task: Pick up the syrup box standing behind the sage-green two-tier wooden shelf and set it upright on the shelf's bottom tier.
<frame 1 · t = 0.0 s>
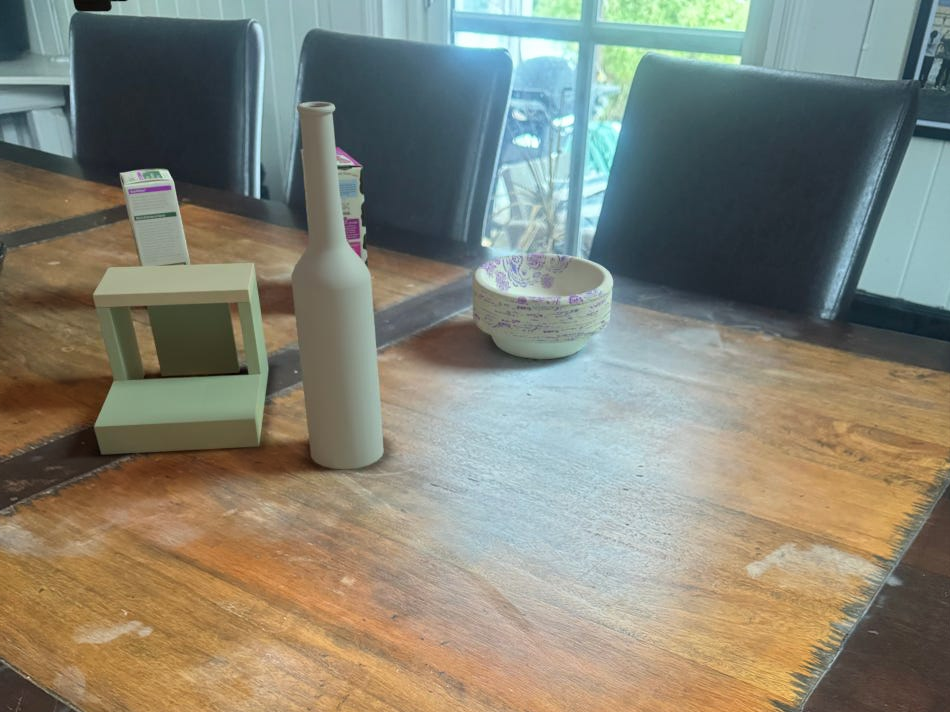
hand: (104, 5, 90), 31 cm above the table, tool pointing down, fingers open, 9 cm apart
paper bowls: (539, 346, 107), on the table
bottle: (347, 456, 86), on the table
syrup box: (172, 303, 117), on the table
shelf: (192, 410, 93), on the table
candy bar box: (342, 302, 118), on the table
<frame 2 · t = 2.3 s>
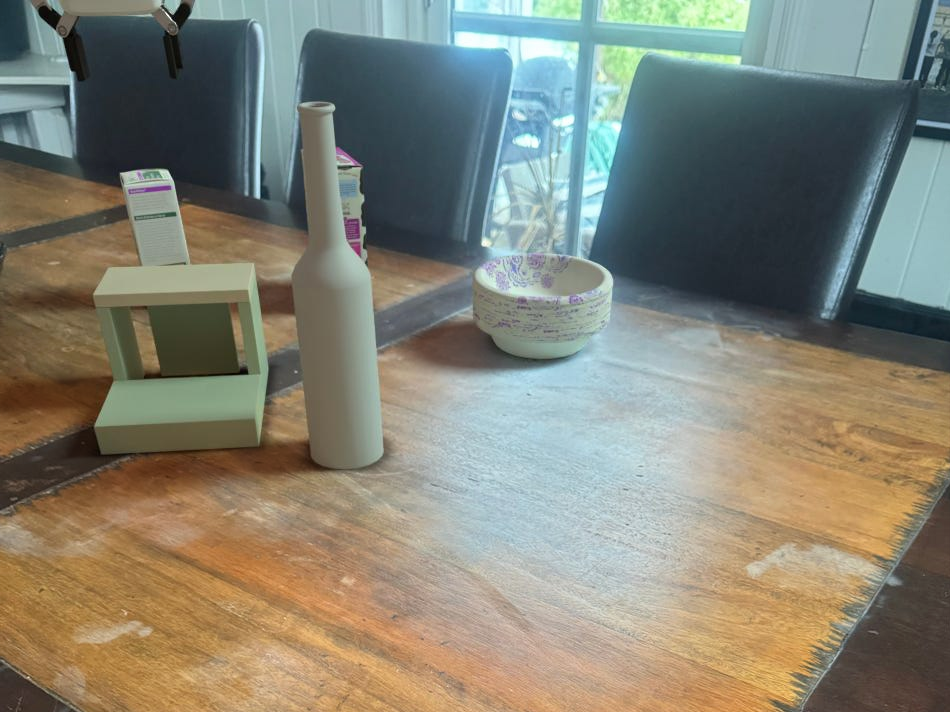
hand: (130, 78, 102), 24 cm above the table, tool pointing down, fingers open, 9 cm apart
nothing on the table moved.
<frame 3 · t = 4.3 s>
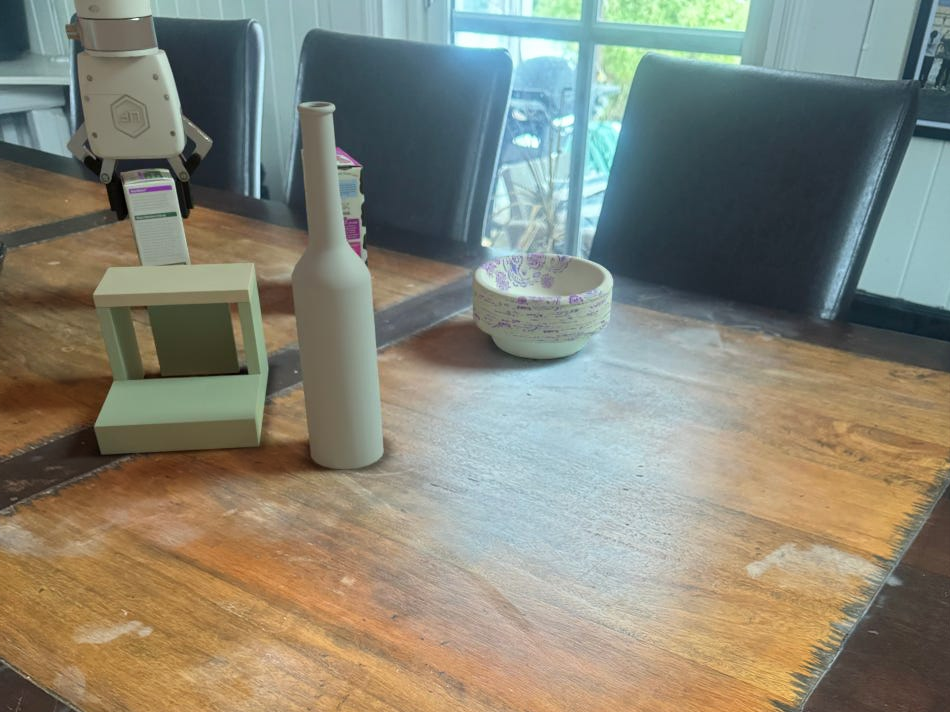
hand: (154, 215, 111), 10 cm above the table, tool pointing down, fingers closed on syrup box, 6 cm apart
syrup box: (171, 303, 117), on the table, touching gripper
everything else where it was.
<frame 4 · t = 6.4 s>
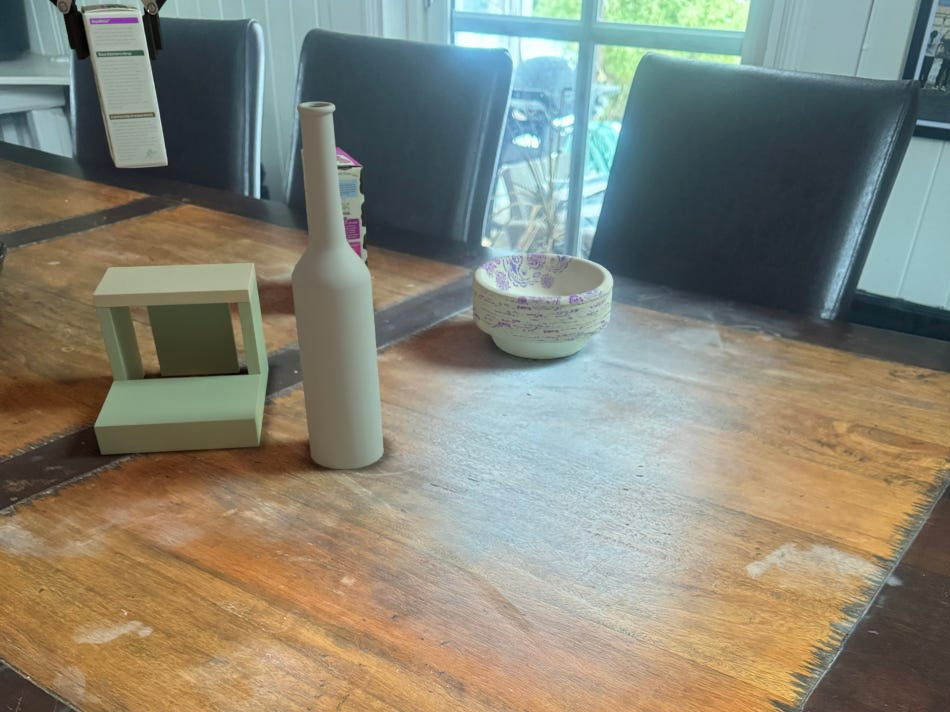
hand: (119, 56, 99), 26 cm above the table, tool pointing down, fingers closed on syrup box, 6 cm apart
syrup box: (139, 164, 105), point 16 cm above the table, touching gripper
everything else where it was.
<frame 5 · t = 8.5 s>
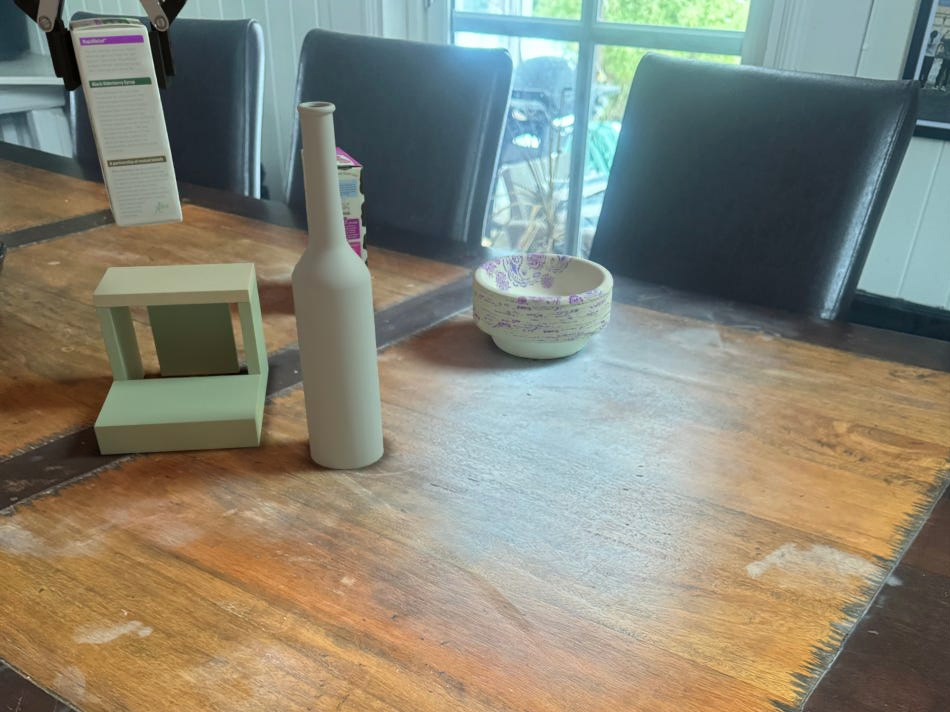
hand: (119, 85, 76), 28 cm above the table, tool pointing down, fingers closed on syrup box, 6 cm apart
syrup box: (146, 219, 83), point 17 cm above the table, touching gripper
everything else where it was.
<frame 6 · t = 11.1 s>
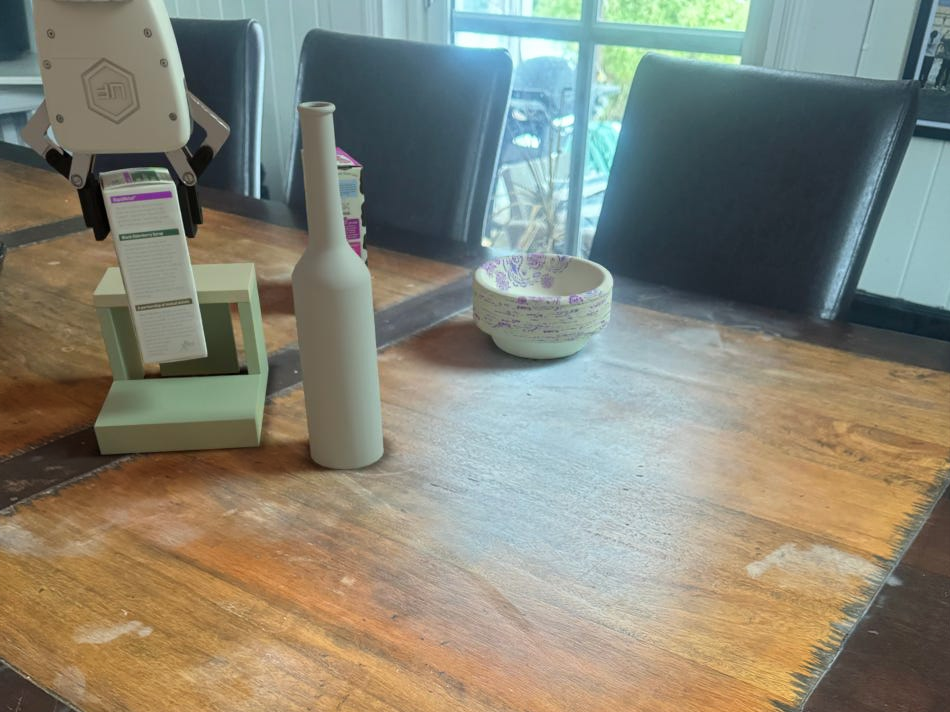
hand: (147, 233, 78), 18 cm above the table, tool pointing down, fingers closed on syrup box, 6 cm apart
syrup box: (171, 352, 85), point 7 cm above the table, touching gripper
everything else where it was.
when the fingers open (13 cm above the table, at t = 12.8 s): syrup box stays where it is, resting on shelf.
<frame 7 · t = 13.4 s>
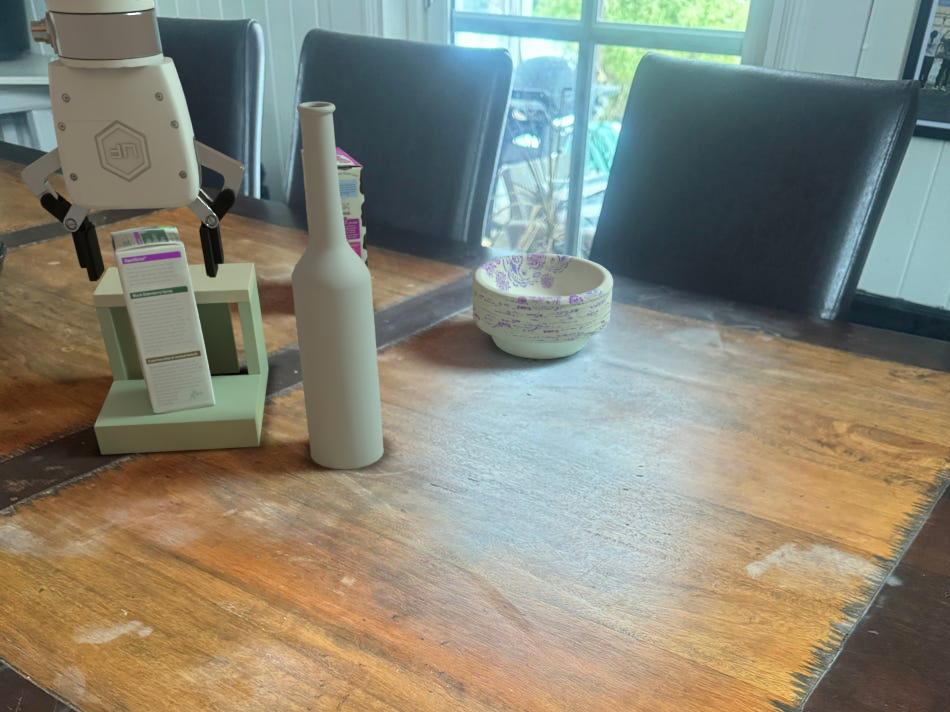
hand: (155, 274, 81), 14 cm above the table, tool pointing down, fingers open, 9 cm apart
syrup box: (180, 400, 88), point 3 cm above the table, touching shelf
everything else where it was.
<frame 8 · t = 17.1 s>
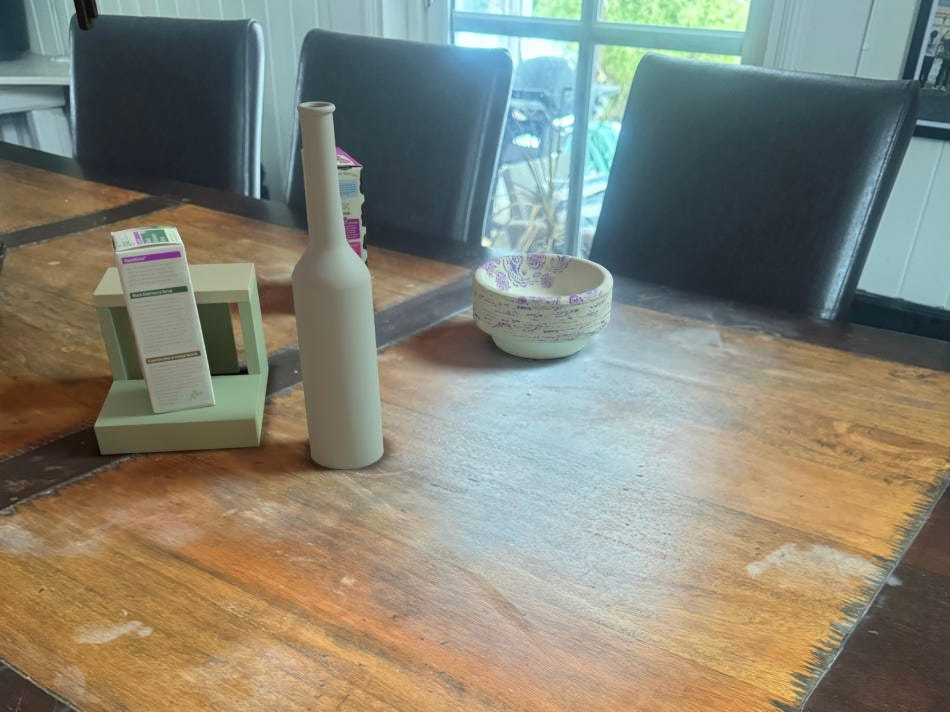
hand: (31, 29, 84), 30 cm above the table, tool pointing down, fingers open, 9 cm apart
nothing on the table moved.
at the end: syrup box inside the target area on the shelf (0.2 cm from its centre), point 2.8 cm above the shelf's base; syrup box tilted 0° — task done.
